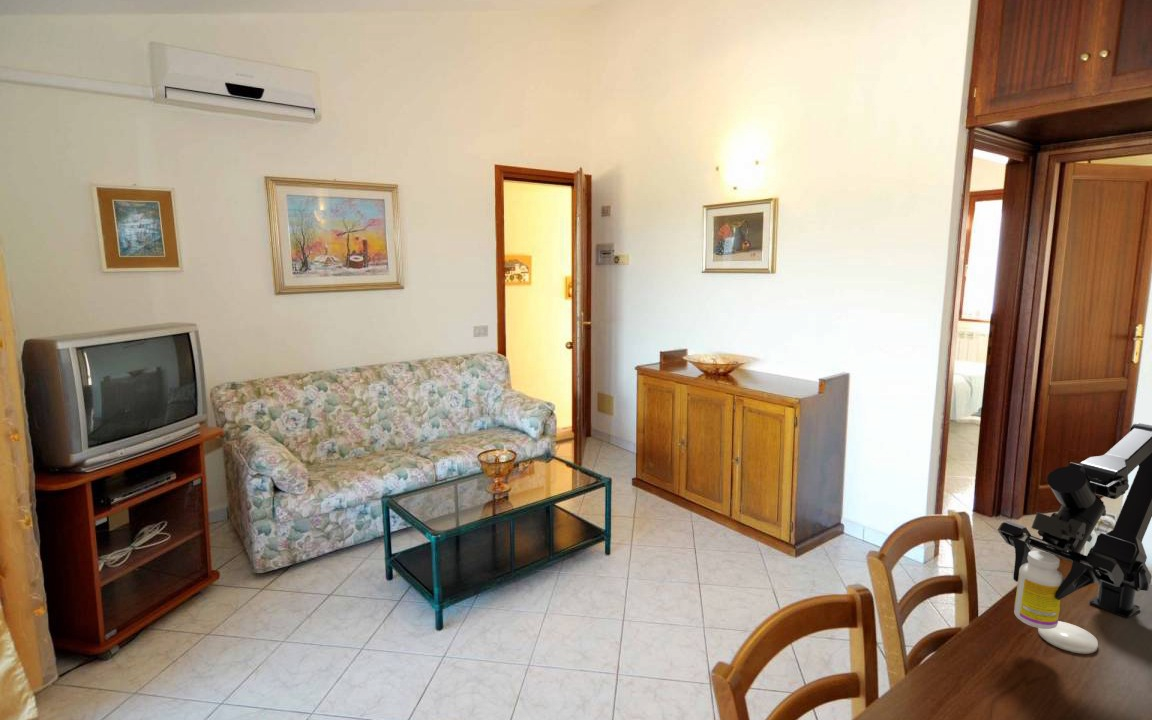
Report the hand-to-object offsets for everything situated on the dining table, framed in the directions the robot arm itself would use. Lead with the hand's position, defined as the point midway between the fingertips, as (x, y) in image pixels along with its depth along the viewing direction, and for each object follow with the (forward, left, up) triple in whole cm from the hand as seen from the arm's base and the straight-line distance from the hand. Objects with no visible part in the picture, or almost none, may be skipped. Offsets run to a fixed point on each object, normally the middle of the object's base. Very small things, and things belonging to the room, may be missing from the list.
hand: (1035, 589), depth 113 cm
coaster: (-10, +2, -12) cm, 16 cm away
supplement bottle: (-1, 0, -7) cm, 7 cm away
